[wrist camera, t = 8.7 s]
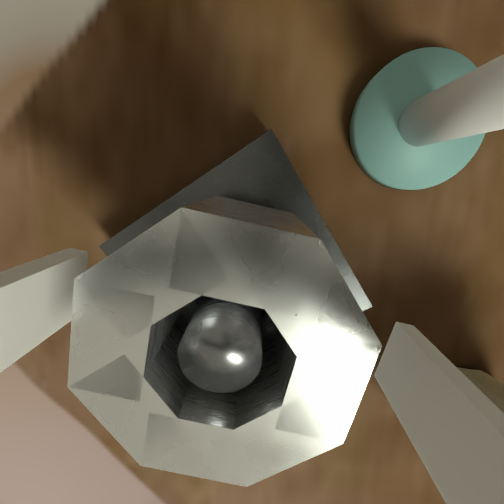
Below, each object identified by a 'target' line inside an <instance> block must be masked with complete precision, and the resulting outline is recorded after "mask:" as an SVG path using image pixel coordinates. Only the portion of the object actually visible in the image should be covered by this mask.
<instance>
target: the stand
mask: <svg viewBox="0 0 504 504" xmlns="http://www.w3.org/2000/svg"><path fill="white" fill-rule="evenodd" d="M501 129H504V54H503V55H502V56H500V57H498V58H496V59H494V60H492V61H490V62H488V63H486V64H484V65H482V66H480V67H478V68H477V67H476V66H475V65H474V64H473V63H472V62H471V61H470V60H469V59H468V58H466V57H465V56H464V55H462V54H460V53H458V52H456V51H453V50H450V49H447V48H441V47H426V48H420V49H416V50H412V51H410V52H407V53H405V54H403V55H401V56H399V57H397V58H396V59H394V60H392V61H391V62H390V63H389V64H387V65H386V66H385V67H384V68H383V69H381V70H380V71H379V72H378V73H377V74H376V75H375V76H374V77H373V78H372V79H371V80H370V81H369V82H368V84H367V85H366V86H365V87H364V89H363V90H362V92H361V93H360V95H359V97H358V99H357V101H356V103H355V106H354V109H353V112H352V116H351V120H350V129H349V133H350V144H351V149H352V152H353V155H354V157H355V160H356V162H357V163H358V165H359V167H360V168H361V169H362V171H363V172H364V173H365V174H366V175H367V176H368V177H369V178H371V179H372V180H374V181H375V182H377V183H379V184H381V185H383V186H386V187H389V188H394V189H406V190H417V189H424V188H429V187H432V186H435V185H438V184H440V183H442V182H444V181H446V180H448V179H449V178H451V177H452V176H454V175H455V174H456V173H458V172H459V171H460V170H461V169H462V168H463V167H464V166H465V165H466V164H467V163H468V162H469V161H470V160H471V158H472V157H473V156H474V155H475V153H476V151H477V150H478V148H479V147H480V144H481V142H482V140H483V138H484V136H485V133H487V132H491V131H496V130H501Z"/></svg>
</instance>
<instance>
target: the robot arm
mask: <svg viewBox="0 0 504 504" xmlns="http://www.w3.org/2000/svg"><path fill="white" fill-rule="evenodd" d="M87 256H88V252H86V251H82V250H77V249H73V248H67V249H64V250H62V251H59V252H56V253H53V254H50V255H47V256H45V257H42V258H39V259H36V260H33V261H30V262H28V263H25V264H22V265H19V266H16V267H13V268H11V269H8V270H5V271H2V272H0V372H2V371H3V370H4V369H6V368H7V367H8V366H10V365H11V364H13V363H14V362H15V361H17V360H18V359H19V358H21V357H22V356H23V355H25V354H26V353H28V352H29V351H30V350H32V349H33V348H34V347H36V346H37V345H38V344H40V343H41V342H43V341H44V340H45V339H47V338H48V337H49V336H51V335H52V334H53V333H55V332H56V331H58V330H59V329H60V328H62V327H63V326H64V325H66V324H67V323H68V322H70V321H71V320H72V306H73V289H74V279H75V278H76V277H77V276H79V275H80V274H82V273H83V272H85V271H86V270H87ZM374 377H375V378H376V380H377V382H378V384H379V385H380V387H381V389H382V391H383V393H384V394H385V396H386V398H387V400H388V401H389V403H390V405H391V407H392V409H393V410H394V412H395V414H396V416H397V417H398V419H399V421H400V423H401V425H402V426H403V428H404V430H405V432H406V433H407V435H408V437H409V439H410V441H411V442H412V444H413V446H414V448H415V449H416V451H417V453H418V455H419V457H420V458H421V460H422V462H423V464H424V465H425V467H426V469H427V471H428V473H429V474H430V476H431V478H432V480H433V481H434V483H435V485H436V487H437V489H438V490H439V492H440V494H441V496H442V497H443V499H444V501H445V503H446V504H504V413H503V412H502V411H501V410H500V409H499V408H498V407H497V406H496V405H495V404H494V403H493V402H492V401H491V400H490V399H489V398H488V397H486V396H485V395H484V394H483V393H482V392H481V391H480V390H479V389H478V388H477V387H476V386H475V385H474V384H473V383H472V382H471V381H470V380H469V379H468V378H467V377H466V376H465V375H464V374H463V373H462V372H461V371H460V370H459V369H458V368H457V367H456V366H455V365H454V364H453V363H452V362H451V361H450V360H449V359H447V358H446V357H445V356H444V355H443V354H442V353H441V352H440V351H439V350H438V349H437V348H436V347H435V346H434V345H433V344H432V343H431V342H430V341H429V340H428V339H427V338H426V337H425V336H424V335H423V334H422V333H421V332H420V331H419V330H418V329H417V328H416V327H415V326H414V325H409V324H405V323H400V322H396V323H395V325H394V328H393V330H392V333H391V335H390V337H389V340H388V342H387V345H386V347H385V350H384V352H383V355H382V357H381V359H380V362H379V364H378V367H377V369H376V372H375V374H374Z"/></svg>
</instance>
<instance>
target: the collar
mask: <svg viewBox="0 0 504 504" xmlns="http://www.w3.org/2000/svg"><path fill="white" fill-rule="evenodd" d="M201 295H203V296H207V297H212V298H216V299H221V300H226V301H230V302H235V303H239V304H244V305H248V306H253V307H257V308H262V309H265V310H266V312H267V313H268V315H269V316H270V317H268V318H266V319H264V320H263V321H262V365H261V369H260V371H259V373H258V375H257V376H256V378H255V379H254V380H253V381H252V382H251V383H250V384H249V385H247V386H246V387H244V388H242V389H240V390H237V391H234V392H229V393H215V392H210V391H207V390H204V389H202V388H200V387H198V386H196V385H195V384H193V383H192V382H191V381H190V380H189V379H188V378H187V377H186V376H185V375H184V373H183V372H182V370H181V368H180V365H179V362H178V347H179V343H180V341H181V339H182V337H183V335H184V333H185V331H186V329H187V327H188V325H189V323H190V321H191V319H192V317H193V315H194V312H195V310H196V308H197V305H196V303H195V302H194V301H193V300H195V299H196V298H198V297H200V296H201ZM381 348H382V344H381V343H380V341H379V339H378V337H377V336H376V334H375V332H374V330H373V329H372V327H371V325H370V324H369V322H368V320H367V318H366V317H365V315H364V313H363V312H362V310H361V308H360V306H359V305H358V303H357V301H356V299H355V298H354V296H353V294H352V293H351V291H350V289H349V287H348V286H347V284H346V282H345V281H344V279H343V277H342V275H341V274H340V272H339V270H338V268H337V267H336V265H335V263H334V262H333V260H332V258H331V256H330V255H329V253H328V251H327V250H326V248H325V246H324V244H323V243H322V241H321V239H320V238H319V237H317V236H316V235H315V234H314V233H313V232H312V231H311V230H310V229H309V228H308V227H307V226H306V225H305V224H304V223H303V222H302V221H301V220H300V219H299V218H298V217H297V216H295V215H294V214H293V213H291V212H286V211H282V210H278V209H273V208H269V207H265V206H260V205H256V204H252V203H247V202H243V201H239V200H234V199H230V198H226V197H221V196H213V197H210V198H207V199H204V200H201V201H199V202H196V203H193V204H190V205H187V206H184V207H181V208H179V209H178V210H176V211H175V212H173V213H172V214H170V215H169V216H167V217H166V218H164V219H163V220H161V221H160V222H158V223H157V224H155V225H154V226H152V227H151V228H149V229H148V230H146V231H145V232H143V233H142V234H140V235H139V236H137V237H136V238H134V239H133V240H131V241H130V242H128V243H127V244H125V245H124V246H122V247H121V248H119V249H118V250H116V251H115V252H113V253H112V254H110V255H109V256H107V257H106V258H104V259H103V260H101V261H100V262H98V263H97V264H95V265H94V266H92V267H91V268H89V269H88V270H86V271H85V272H83V273H82V274H80V275H79V276H77V277H76V278H75V279H74V289H73V306H72V322H71V338H70V355H69V371H68V388H69V389H70V390H71V391H72V393H73V394H74V395H75V396H76V397H77V398H78V399H79V400H80V401H81V402H82V403H83V404H84V405H85V407H86V408H87V409H88V410H89V411H90V412H91V413H92V414H93V415H94V416H95V417H96V418H97V420H98V421H99V422H100V423H101V424H102V425H103V426H104V427H105V428H106V429H107V430H108V431H109V432H110V434H111V435H112V436H113V437H114V438H115V439H116V440H117V441H118V442H119V443H120V444H121V445H122V446H123V448H124V449H125V450H126V451H127V452H128V453H129V454H130V455H131V456H132V457H133V458H134V459H135V461H136V462H137V463H138V464H139V465H141V466H144V467H149V468H154V469H159V470H164V471H169V472H174V473H179V474H184V475H189V476H194V477H200V478H205V479H210V480H215V481H220V482H225V483H230V484H235V485H240V486H245V487H246V486H250V485H252V484H254V483H256V482H259V481H261V480H263V479H265V478H268V477H270V476H272V475H274V474H277V473H279V472H281V471H283V470H285V469H288V468H290V467H292V466H294V465H297V464H299V463H301V462H303V461H306V460H308V459H310V458H312V457H315V456H317V455H319V454H321V453H324V452H326V451H328V450H330V449H333V448H335V447H337V446H339V445H342V444H343V443H344V441H345V438H346V435H347V433H348V430H349V428H350V425H351V423H352V420H353V418H354V415H355V413H356V410H357V408H358V405H359V403H360V400H361V398H362V395H363V393H364V390H365V388H366V385H367V383H368V380H369V378H370V375H371V373H372V370H373V368H374V365H375V363H376V360H377V358H378V355H379V353H380V350H381Z"/></svg>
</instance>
